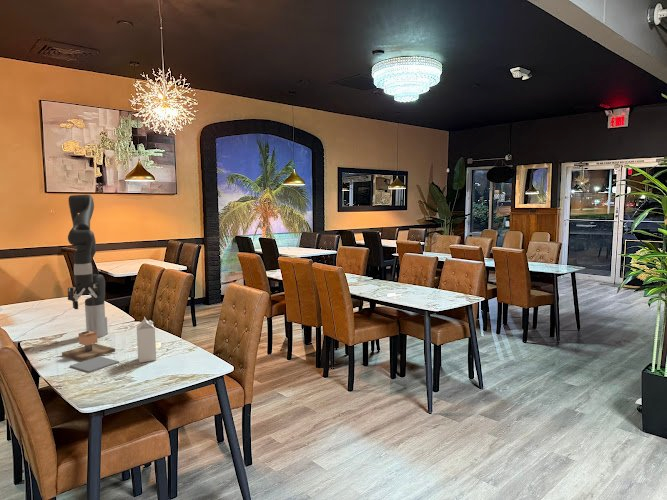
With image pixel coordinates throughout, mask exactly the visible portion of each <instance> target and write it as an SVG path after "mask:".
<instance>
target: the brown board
mask: <svg viewBox="0 0 667 500" xmlns="http://www.w3.org/2000/svg"><path fill="white" fill-rule="evenodd" d="M114 352H116V348H114V347H110V346H107V345H103V344H99V343H94V344H90V345H87V346H86V345H83V346H80V347H77V348H74V349H70V350H66V351H63V352H61V356H62V357H64V358H65V357H66V358H69V359H73V360H76V361H80V362H83V361H86V360H89V359H93V358H96V357H99V356H101V357H103V356H104V355H109V354H111V353H114Z"/></svg>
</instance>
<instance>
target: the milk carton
mask: <svg viewBox="0 0 667 500" xmlns="http://www.w3.org/2000/svg"><path fill="white" fill-rule="evenodd" d="M143 317H144V318H143V320H142V321H141V322H139V324H137V325H136V340H137V341H136V342H137V359H138V363H147V362H151V361H152V362H153V361H157V350H156V349H157V347H156V344H157V343H156V327H155V326H154V321H152V320H151V319H149V320H147V318H146V317H145V316H143Z"/></svg>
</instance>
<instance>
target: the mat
mask: <svg viewBox="0 0 667 500" xmlns="http://www.w3.org/2000/svg"><path fill="white" fill-rule="evenodd" d="M119 363H120V361H119V360H116V359H111V358H108V357H104V356H98V357H95V358H92V359H89V360H85V361H80V362H76V363H74V364H70V365H69V367H70V368H72V369H75V370H79V371H82V372H85V373H93V372H95V371H99V370H101V369H104V368H108V367H111V366H113V365H117V364H119Z"/></svg>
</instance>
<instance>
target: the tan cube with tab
mask: <svg viewBox="0 0 667 500" xmlns="http://www.w3.org/2000/svg"><path fill="white" fill-rule="evenodd" d="M94 343H95V344H99V343H98V337H97V332H94V331H82V332H80V333H79V332H78V345H83V346H85V345H86V346H87V345H90V344H94Z"/></svg>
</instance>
